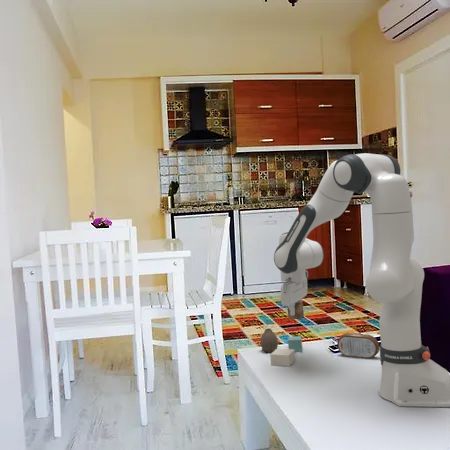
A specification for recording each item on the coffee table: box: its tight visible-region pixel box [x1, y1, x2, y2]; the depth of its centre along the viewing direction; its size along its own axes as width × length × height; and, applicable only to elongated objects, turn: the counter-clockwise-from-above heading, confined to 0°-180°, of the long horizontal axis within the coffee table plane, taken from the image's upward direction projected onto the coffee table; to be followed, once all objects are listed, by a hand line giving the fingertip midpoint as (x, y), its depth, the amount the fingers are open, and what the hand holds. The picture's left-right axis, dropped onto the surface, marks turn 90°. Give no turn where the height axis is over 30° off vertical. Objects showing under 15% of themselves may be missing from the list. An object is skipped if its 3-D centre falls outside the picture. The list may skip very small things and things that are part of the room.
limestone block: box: [269, 348, 296, 367], centre depth 186 cm, size 7×7×4 cm
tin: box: [336, 332, 380, 359], centre depth 185 cm, size 15×3×8 cm, turn 58°
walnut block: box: [286, 302, 305, 320], centre depth 186 cm, size 4×4×5 cm
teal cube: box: [287, 335, 303, 354], centre depth 199 cm, size 5×5×5 cm
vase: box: [259, 328, 279, 353], centre depth 201 cm, size 7×7×9 cm
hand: (295, 313), depth 186 cm, fingers closed on walnut block, 4 cm apart
